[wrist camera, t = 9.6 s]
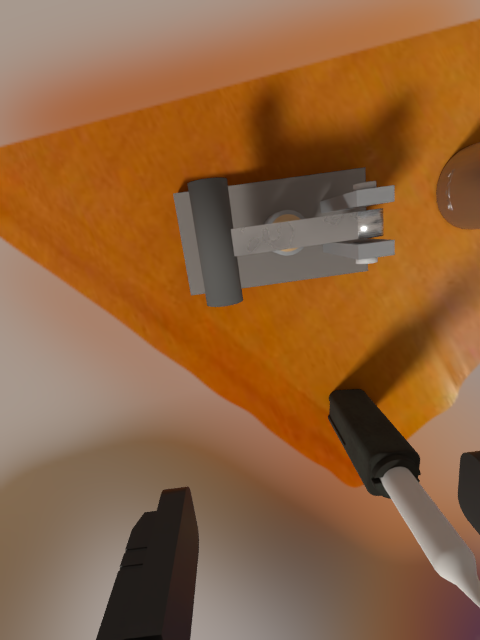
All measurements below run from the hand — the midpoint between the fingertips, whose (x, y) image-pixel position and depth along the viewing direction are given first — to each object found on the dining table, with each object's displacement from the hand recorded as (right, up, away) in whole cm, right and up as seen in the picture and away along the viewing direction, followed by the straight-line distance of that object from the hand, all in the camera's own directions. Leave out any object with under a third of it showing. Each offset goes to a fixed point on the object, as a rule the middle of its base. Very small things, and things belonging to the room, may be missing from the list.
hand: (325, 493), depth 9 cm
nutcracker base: (+1, +15, +28) cm, 32 cm away
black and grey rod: (+12, -7, +35) cm, 37 cm away
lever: (+2, +13, +20) cm, 24 cm away
